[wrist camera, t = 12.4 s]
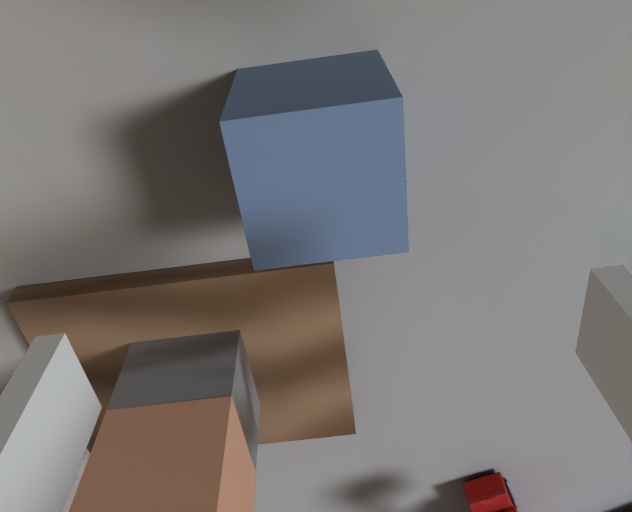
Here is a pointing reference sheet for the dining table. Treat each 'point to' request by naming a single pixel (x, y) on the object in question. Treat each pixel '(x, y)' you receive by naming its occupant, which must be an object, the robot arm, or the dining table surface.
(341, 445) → the dining table surface
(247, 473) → the terracotta brick
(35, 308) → the board
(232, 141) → the slate blue brick
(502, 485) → the toy fire truck
